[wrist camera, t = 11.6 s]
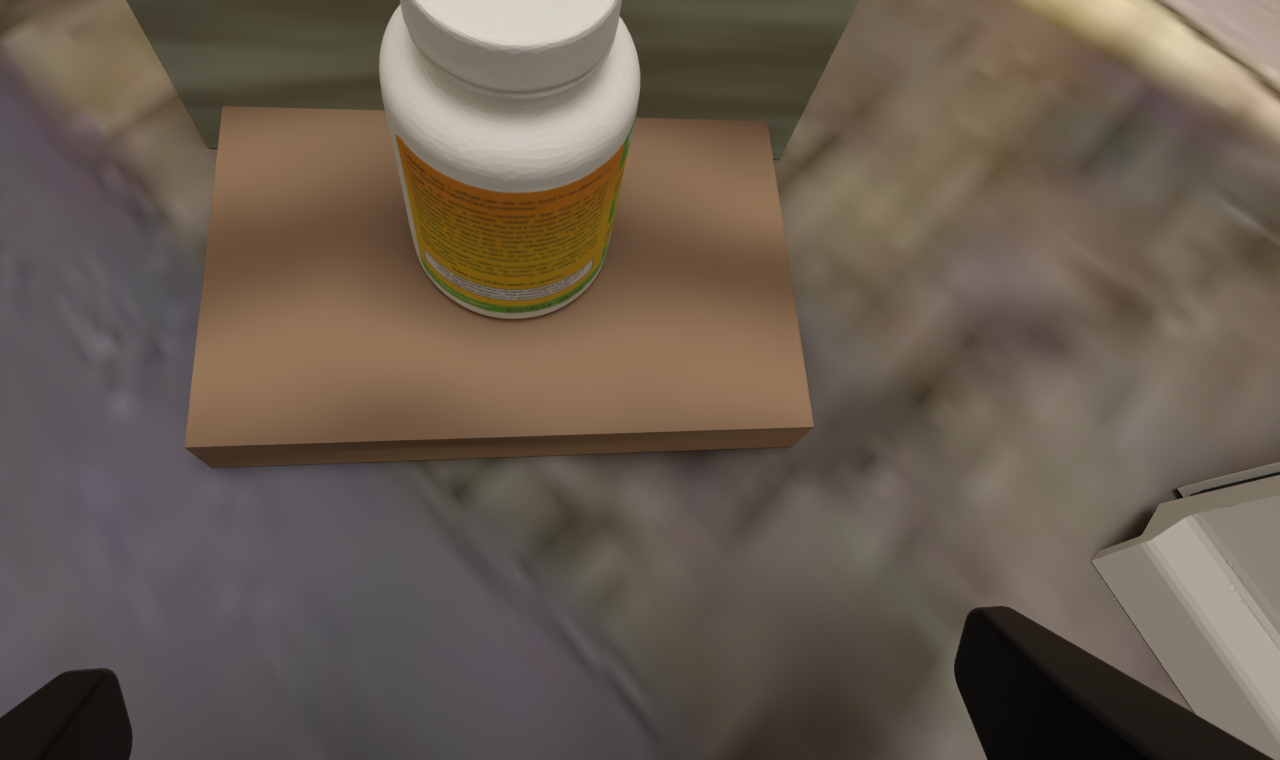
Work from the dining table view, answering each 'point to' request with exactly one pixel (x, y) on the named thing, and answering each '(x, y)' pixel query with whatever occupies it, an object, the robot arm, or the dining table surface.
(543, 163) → the supplement bottle
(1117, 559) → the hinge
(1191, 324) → the dining table surface
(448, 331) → the wall board ledge
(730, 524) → the dining table surface
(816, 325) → the dining table surface
